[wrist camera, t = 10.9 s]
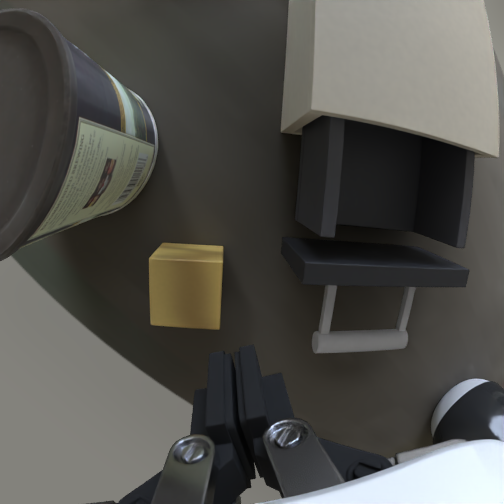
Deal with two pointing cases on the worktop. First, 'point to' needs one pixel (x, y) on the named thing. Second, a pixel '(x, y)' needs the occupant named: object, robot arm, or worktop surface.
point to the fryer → (394, 68)
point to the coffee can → (63, 134)
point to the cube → (186, 285)
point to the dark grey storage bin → (377, 218)
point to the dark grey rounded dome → (470, 412)
